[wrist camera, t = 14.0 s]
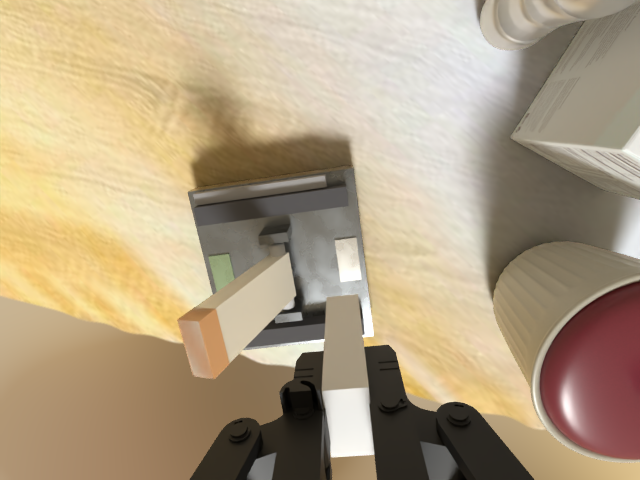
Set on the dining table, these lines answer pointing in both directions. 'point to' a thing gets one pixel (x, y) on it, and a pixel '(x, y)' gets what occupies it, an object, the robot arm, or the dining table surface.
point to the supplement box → (593, 106)
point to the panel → (295, 249)
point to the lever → (237, 313)
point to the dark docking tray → (270, 203)
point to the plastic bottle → (538, 18)
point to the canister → (577, 343)
